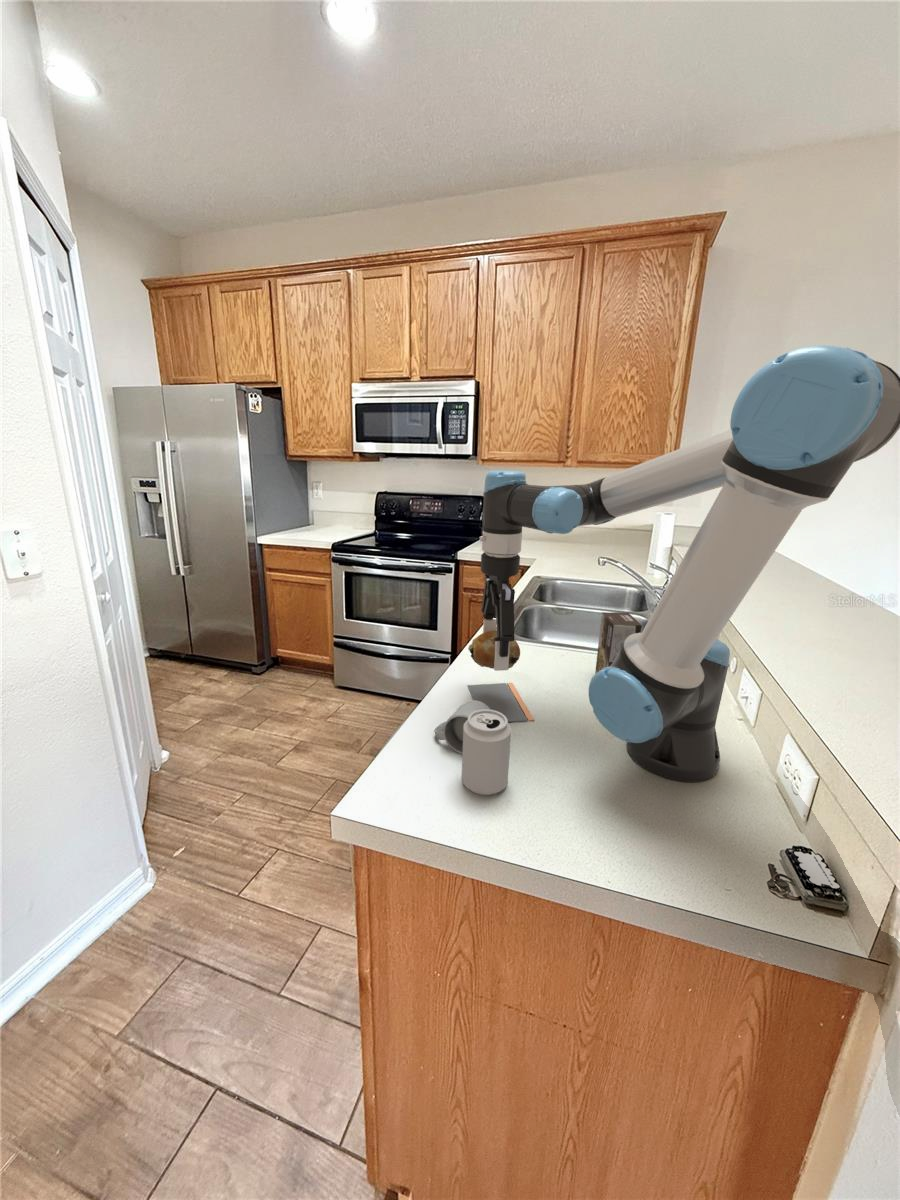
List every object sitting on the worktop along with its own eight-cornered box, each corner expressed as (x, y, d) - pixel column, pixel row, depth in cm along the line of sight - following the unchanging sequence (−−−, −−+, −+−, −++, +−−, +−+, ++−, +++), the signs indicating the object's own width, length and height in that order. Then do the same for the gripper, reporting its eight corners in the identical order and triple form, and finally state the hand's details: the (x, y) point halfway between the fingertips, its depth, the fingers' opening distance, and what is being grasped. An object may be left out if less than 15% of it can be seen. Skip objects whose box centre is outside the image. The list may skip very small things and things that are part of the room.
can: (494, 805, 74) (498, 737, 70) (452, 787, 78) (454, 721, 74) (515, 778, 80) (519, 714, 76) (475, 763, 84) (478, 701, 80)
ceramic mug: (495, 735, 92) (497, 699, 90) (482, 759, 85) (483, 720, 82) (444, 724, 96) (444, 689, 93) (427, 746, 88) (426, 709, 86)
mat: (534, 720, 97) (534, 719, 97) (483, 724, 95) (483, 723, 95) (512, 683, 112) (512, 682, 112) (467, 686, 110) (467, 685, 110)
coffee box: (633, 692, 109) (643, 625, 105) (604, 691, 110) (613, 624, 105) (620, 674, 118) (629, 611, 113) (593, 673, 118) (601, 610, 113)
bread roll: (492, 688, 96) (510, 660, 92) (455, 655, 100) (470, 627, 96) (517, 671, 104) (534, 644, 99) (482, 641, 107) (497, 614, 103)
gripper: (470, 541, 104) (466, 638, 110) (496, 567, 82) (489, 684, 89) (504, 541, 105) (498, 636, 112) (538, 567, 84) (528, 682, 90)
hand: (494, 658), depth 100 cm, fingers closed on bread roll, 10 cm apart
